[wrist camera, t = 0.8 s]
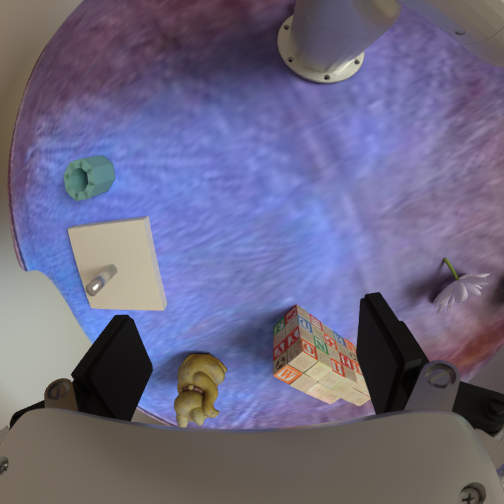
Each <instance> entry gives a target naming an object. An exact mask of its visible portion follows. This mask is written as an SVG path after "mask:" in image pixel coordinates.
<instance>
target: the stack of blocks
mask: <svg viewBox="0 0 504 504" xmlns="http://www.w3.org/2000/svg"><path fill="white" fill-rule="evenodd" d="M273 337H274V341H273V348H274V349H273V376H274V377H276V378H278V379H280V380H282V381H283V382H285V383H287V384H289V385H290V386H292V387H293V388H296V389H298V390H300V391H302V392H305V393H306V394H308V395H310V396H313V397H315V398H318V399H320V400H322V401H324V402H326V403H329V404H332V403H333V402H335V401H336V400H338V399H339V398H342V399H344V400H346V401H348V402H351V403H353V404H355V405H358V406H361V405H362V404H363V403H365V402H366V401H368V400H369V399H371V398H370V395H369V392H368V389H367V386H366V383H365V380H364V377H363V374H362V371H361V369H360V366H359V363H358V360H357V356H356V346H355V345H353V344H352V343H351V342H349V341H348V340H346V339H345V338H343V337H341V336H340V335H338V334H337V333H336V332H334V331H332V330H331V329H330V328H328V327H327V326H325V325H324V324H322V323H321V322H320V321H319V320H318V319H316V318H315V317H313V316H312V315H310V314H309V313H308V312H306V311H305V310H304V309H302V308H301V307H300V306H298V305H295V306H294V307H293V308H292V309H291V310H290V311H289V312H288V313H287V314H286V315H285V316H284V317H283V318H282V319H281V320H280V321H279V322H278V323H277V324H276V325H275V326H274V327H273Z"/></svg>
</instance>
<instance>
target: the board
mask: <svg viewBox="0 0 504 504" xmlns="http://www.w3.org/2000/svg"><path fill="white" fill-rule="evenodd" d="M68 233H69V237H70V241H71V245H72V249H73V253H74V256H75V260H76V263H77V267H78V270H79V273H80V277H81V280H82V283H83V286H84V289H85V292H86V295H87V298H88V301H89V303H90V306H91V308H97V309H120V310H164V309H165V308H166V306H167V301H166V297H165V293H164V289H163V285H162V280H161V276H160V272H159V267H158V262H157V258H156V253H155V248H154V243H153V238H152V232H151V227H150V221H149V216H145V217H136V218H128V219H119V220H111V221H103V222H96V223H89V224H81V225H74V226H72V227H70V228H68Z"/></svg>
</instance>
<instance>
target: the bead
mask: <svg viewBox="0 0 504 504" xmlns="http://www.w3.org/2000/svg"><path fill="white" fill-rule="evenodd" d="M114 180H115V173H114V166H113V163H112V162H111V161H109V160H108V159H107V158H106V157H105V156H104V155H101V156H94V157H88V158H82V159H79V160H75V161H72V162H70V163H69V165H68V167H67V169H66V172H65V174H64V182H65V188H66V192H67V193H68V194H69V195H70V196H71V197H72V198H73V199H74V200H75V201H79V200H84V199H89V198H91V197H94V196H96V195H99V194H101V193H104V192H107V191H108V190H109V189H110V187H111V185H112V183H113V182H114Z"/></svg>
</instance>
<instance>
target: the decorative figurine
mask: <svg viewBox="0 0 504 504" xmlns="http://www.w3.org/2000/svg"><path fill="white" fill-rule="evenodd" d="M226 372H227V368H226V367H225V366H224V364H223V363H222V362H221V361H220V360H218V359H217V358H215V357H213V356H212V355H211V354H210V353H207V354H190V355H189V356H188V357H186V359H185V360H184V361H183V362H182V364H181V365H180V367H179V370H178V384H177V390H178V394H179V395H178V396H177V398H176V399H175V402H174V409H175V411H176V413H177V415H176V420H177V423H178V425H179V427H184V428H186V427H187V424H188V421H189V422H195V423H196V424H197V425H202V424H203V422H204V419H206V418H207V417H209V418H214V417H216V416H217V415H218V414H219V411H218V410H216V409H215V408H214V406H213V404H214V402H215V400H216V399H217V396H218V389H217V386H218V384H221V383H222V382H223V381H224V378H225V373H226Z"/></svg>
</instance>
